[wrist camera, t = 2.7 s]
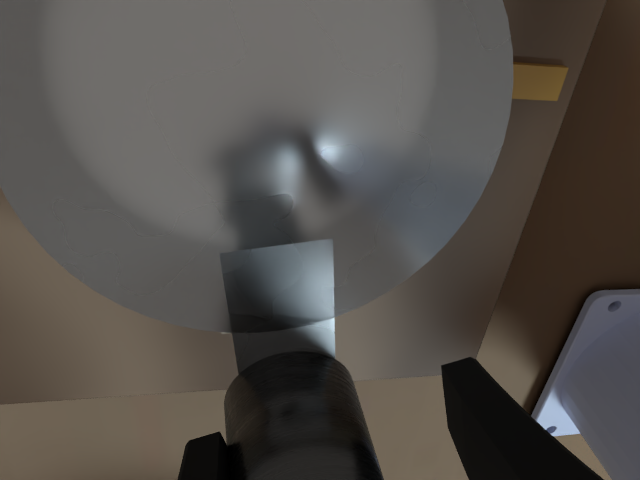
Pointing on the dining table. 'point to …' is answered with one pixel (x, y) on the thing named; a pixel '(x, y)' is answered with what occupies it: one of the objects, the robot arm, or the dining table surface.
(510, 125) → the lock base
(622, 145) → the dining table surface
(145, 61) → the grey disc with handle
